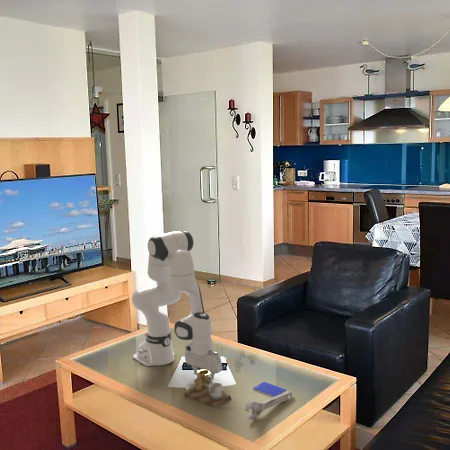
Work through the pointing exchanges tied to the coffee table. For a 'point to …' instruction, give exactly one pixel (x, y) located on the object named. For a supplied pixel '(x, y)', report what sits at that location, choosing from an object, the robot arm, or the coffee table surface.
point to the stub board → (207, 393)
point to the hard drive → (269, 389)
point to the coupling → (204, 376)
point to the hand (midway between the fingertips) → (203, 376)
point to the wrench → (265, 404)
